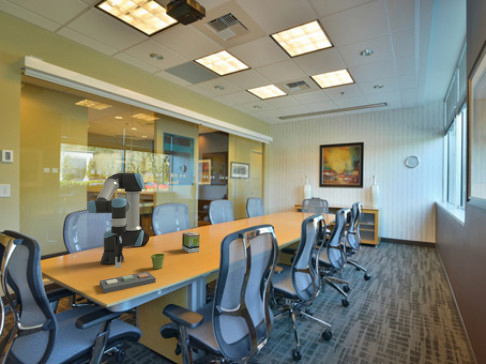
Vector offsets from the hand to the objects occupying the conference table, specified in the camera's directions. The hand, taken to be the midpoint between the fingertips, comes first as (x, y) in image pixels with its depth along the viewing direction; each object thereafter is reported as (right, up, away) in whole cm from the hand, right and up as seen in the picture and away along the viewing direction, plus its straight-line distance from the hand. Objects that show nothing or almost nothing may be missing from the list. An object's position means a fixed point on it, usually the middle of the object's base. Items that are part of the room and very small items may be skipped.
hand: (118, 267), depth 151 cm
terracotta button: (+11, -9, +8) cm, 17 cm away
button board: (+4, -10, +3) cm, 12 cm away
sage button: (+4, -9, +3) cm, 10 cm away
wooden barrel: (-25, -10, +94) cm, 98 cm away
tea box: (+25, -11, +79) cm, 84 cm away
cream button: (-3, -9, -2) cm, 10 cm away
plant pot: (+12, -11, +32) cm, 36 cm away
